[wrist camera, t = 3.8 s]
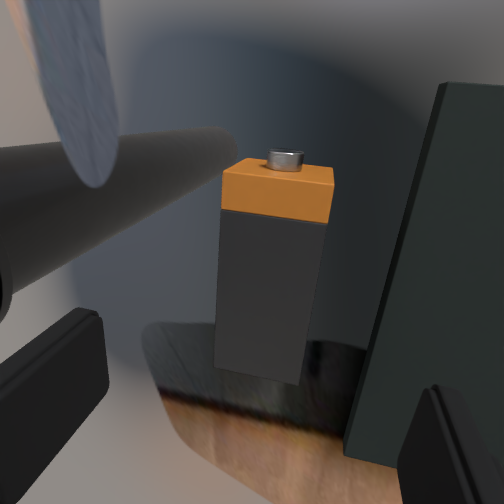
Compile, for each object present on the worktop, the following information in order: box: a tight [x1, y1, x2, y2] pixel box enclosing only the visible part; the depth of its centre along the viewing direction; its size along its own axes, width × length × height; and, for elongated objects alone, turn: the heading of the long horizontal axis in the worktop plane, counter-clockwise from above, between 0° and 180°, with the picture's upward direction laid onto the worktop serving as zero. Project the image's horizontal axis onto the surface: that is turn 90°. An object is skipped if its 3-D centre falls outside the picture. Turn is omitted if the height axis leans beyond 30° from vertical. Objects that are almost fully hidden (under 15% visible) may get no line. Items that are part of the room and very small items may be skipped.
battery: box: [213, 148, 334, 385], centre depth 17 cm, size 4×11×4 cm, turn 174°
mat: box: [343, 82, 504, 469], centre depth 17 cm, size 12×22×1 cm, turn 175°
